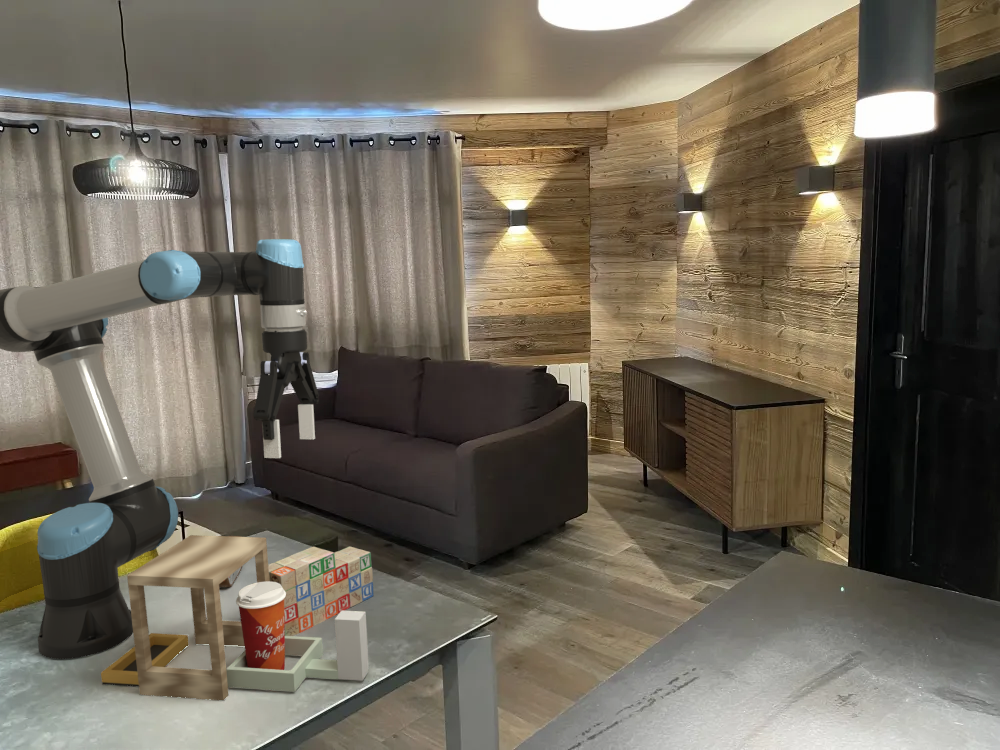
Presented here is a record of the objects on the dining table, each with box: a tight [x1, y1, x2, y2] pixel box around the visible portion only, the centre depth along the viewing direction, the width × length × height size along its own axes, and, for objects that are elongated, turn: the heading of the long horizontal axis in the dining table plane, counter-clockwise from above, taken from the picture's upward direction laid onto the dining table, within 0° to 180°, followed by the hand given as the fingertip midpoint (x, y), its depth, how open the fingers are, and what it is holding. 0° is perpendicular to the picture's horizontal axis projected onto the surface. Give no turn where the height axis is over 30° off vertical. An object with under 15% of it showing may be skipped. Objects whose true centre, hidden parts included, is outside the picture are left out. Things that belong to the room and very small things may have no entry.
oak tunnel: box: [126, 534, 269, 701], centre depth 121 cm, size 14×17×20 cm
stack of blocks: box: [268, 546, 374, 636], centre depth 140 cm, size 21×6×12 cm, turn 143°
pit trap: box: [100, 632, 190, 688], centre depth 124 cm, size 7×13×2 cm, turn 171°
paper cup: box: [235, 581, 286, 670], centre depth 120 cm, size 8×8×14 cm
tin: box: [219, 535, 243, 589], centre depth 157 cm, size 15×3×8 cm, turn 6°
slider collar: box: [226, 610, 370, 693], centre depth 119 cm, size 20×11×10 cm, turn 81°
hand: (291, 447), depth 133 cm, fingers open, 13 cm apart
